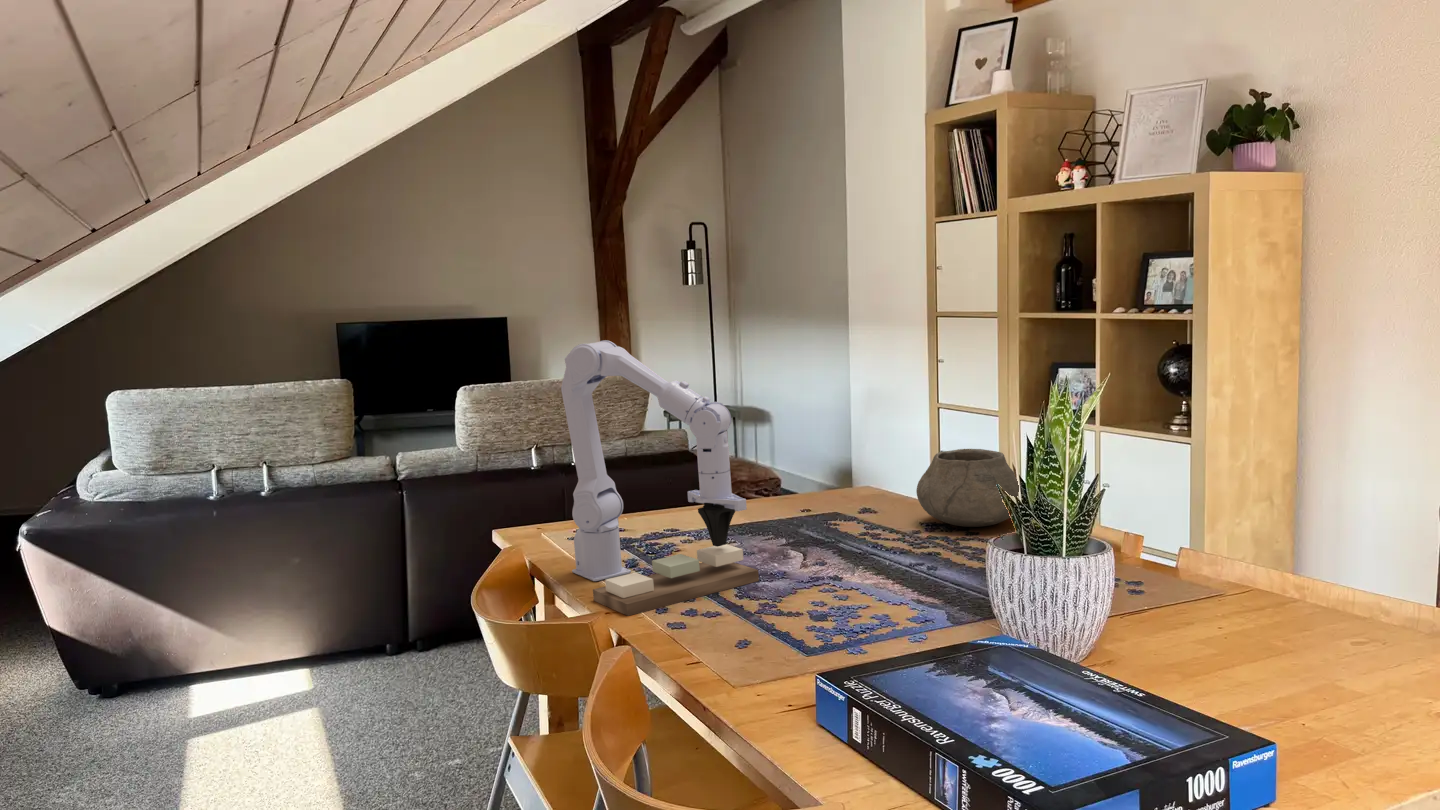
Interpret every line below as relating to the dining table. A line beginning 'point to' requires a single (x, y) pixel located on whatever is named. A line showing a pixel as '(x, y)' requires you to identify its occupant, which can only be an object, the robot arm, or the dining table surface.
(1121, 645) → the dining table surface
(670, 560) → the key middle
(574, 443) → the robot arm
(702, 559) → the key
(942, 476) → the clay pot
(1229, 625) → the dining table surface
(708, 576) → the board
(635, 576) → the key
